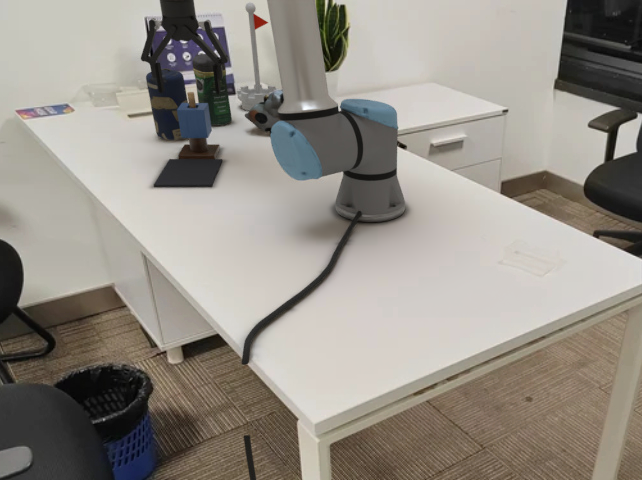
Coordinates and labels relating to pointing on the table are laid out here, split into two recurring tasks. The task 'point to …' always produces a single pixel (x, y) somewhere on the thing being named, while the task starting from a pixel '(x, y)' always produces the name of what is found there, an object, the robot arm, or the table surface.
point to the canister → (167, 103)
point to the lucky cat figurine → (266, 111)
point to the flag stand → (257, 93)
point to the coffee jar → (212, 90)
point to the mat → (189, 173)
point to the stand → (198, 143)
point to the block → (194, 120)
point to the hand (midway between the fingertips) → (190, 92)
